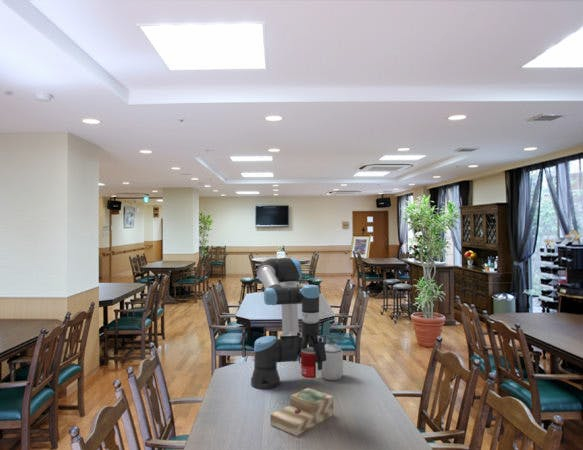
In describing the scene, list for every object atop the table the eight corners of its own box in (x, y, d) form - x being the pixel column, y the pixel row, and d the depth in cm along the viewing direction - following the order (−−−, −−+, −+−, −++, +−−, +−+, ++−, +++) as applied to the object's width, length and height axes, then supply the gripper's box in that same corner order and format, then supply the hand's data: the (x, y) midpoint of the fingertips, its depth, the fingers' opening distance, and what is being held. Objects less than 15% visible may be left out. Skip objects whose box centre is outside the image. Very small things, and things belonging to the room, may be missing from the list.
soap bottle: (334, 383, 208) (334, 322, 208) (315, 377, 216) (315, 319, 216) (347, 376, 217) (347, 318, 217) (328, 371, 225) (328, 315, 225)
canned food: (318, 379, 168) (318, 352, 168) (299, 377, 170) (299, 351, 170) (320, 372, 175) (320, 347, 176) (302, 371, 177) (302, 346, 177)
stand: (296, 436, 155) (296, 414, 155) (270, 424, 164) (270, 403, 164) (333, 414, 172) (333, 395, 172) (308, 405, 182) (308, 386, 182)
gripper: (287, 319, 177) (287, 370, 177) (324, 326, 163) (324, 383, 163) (298, 316, 183) (298, 366, 182) (335, 323, 168) (335, 378, 168)
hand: (310, 374), depth 173 cm, fingers closed on canned food, 8 cm apart
